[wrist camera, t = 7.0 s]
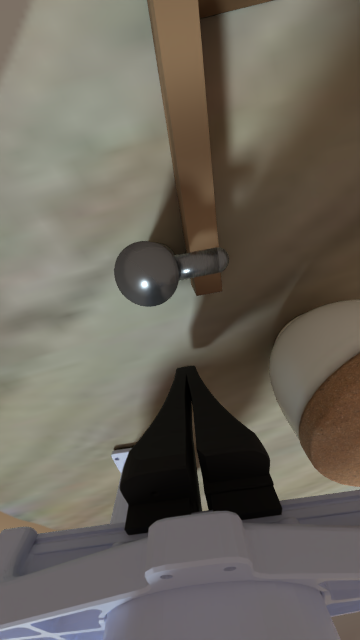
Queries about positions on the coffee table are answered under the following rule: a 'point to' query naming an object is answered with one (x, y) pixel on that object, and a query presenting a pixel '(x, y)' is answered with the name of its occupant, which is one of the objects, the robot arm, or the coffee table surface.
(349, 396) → the lidded jar
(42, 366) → the coffee table surface
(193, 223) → the walnut shelf
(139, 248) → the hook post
